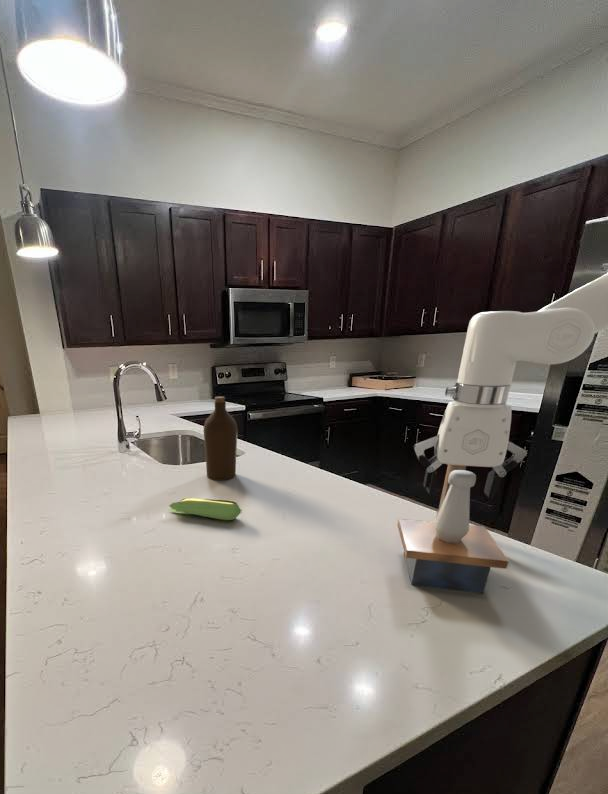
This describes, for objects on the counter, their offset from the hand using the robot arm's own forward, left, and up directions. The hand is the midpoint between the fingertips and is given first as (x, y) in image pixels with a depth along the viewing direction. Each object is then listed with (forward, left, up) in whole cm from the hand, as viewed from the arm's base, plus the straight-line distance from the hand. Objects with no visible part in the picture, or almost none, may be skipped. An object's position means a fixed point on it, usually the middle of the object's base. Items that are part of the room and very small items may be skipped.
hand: (458, 493), depth 75 cm
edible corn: (+53, -15, -17) cm, 58 cm away
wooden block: (-4, -18, -17) cm, 25 cm away
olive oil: (+57, -47, -17) cm, 76 cm away
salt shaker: (0, 0, -9) cm, 9 cm away
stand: (0, 0, -16) cm, 16 cm away
